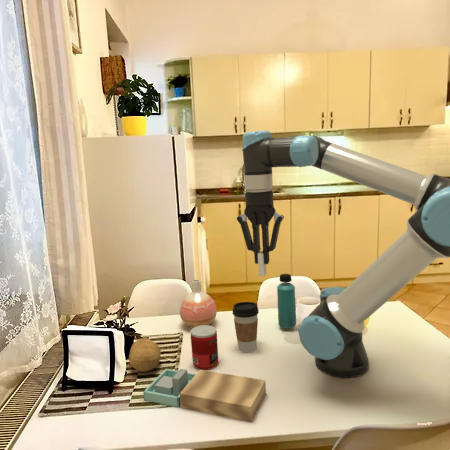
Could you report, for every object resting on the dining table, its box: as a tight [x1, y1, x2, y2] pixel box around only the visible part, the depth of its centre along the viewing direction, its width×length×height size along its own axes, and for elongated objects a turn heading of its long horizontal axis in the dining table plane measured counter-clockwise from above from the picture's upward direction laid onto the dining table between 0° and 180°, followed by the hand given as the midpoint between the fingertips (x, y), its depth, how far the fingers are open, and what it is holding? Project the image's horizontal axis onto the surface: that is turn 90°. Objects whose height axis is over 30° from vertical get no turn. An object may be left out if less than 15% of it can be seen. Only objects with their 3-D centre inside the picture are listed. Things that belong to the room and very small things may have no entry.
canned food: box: [190, 324, 219, 371], centre depth 126 cm, size 8×8×11 cm
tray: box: [142, 368, 197, 408], centre depth 113 cm, size 10×12×2 cm
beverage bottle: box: [276, 273, 297, 329], centre depth 147 cm, size 6×7×20 cm
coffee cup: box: [232, 301, 260, 353], centre depth 134 cm, size 8×8×15 cm
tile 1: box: [154, 376, 173, 395], centre depth 113 cm, size 5×5×2 cm
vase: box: [179, 278, 218, 329], centre depth 153 cm, size 14×14×18 cm
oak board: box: [180, 369, 267, 423], centre depth 107 cm, size 19×12×4 cm, turn 68°
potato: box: [128, 337, 162, 373], centre depth 126 cm, size 10×14×8 cm
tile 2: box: [172, 368, 189, 396], centre depth 112 cm, size 5×5×2 cm
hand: (262, 274), depth 115 cm, fingers closed
